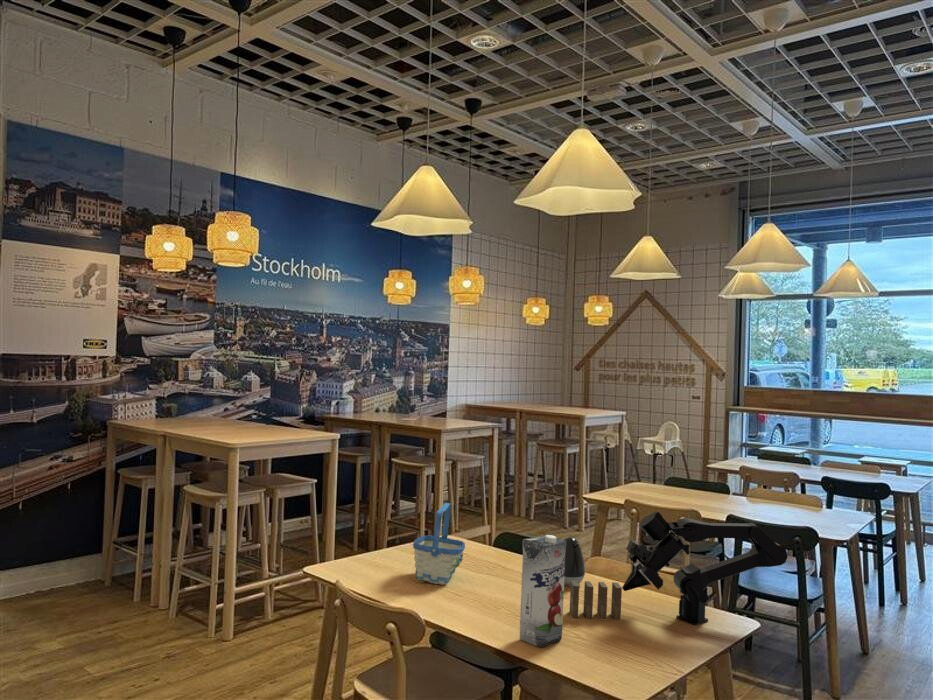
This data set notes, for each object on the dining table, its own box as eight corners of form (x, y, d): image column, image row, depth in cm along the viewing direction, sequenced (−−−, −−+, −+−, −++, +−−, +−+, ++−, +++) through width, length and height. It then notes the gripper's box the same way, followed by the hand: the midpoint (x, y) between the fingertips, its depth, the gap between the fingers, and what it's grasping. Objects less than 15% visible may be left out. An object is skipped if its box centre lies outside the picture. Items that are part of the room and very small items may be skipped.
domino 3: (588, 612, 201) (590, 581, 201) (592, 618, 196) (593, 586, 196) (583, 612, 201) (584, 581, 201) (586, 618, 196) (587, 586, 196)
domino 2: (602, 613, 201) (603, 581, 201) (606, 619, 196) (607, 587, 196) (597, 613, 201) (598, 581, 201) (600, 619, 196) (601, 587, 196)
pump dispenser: (561, 589, 222) (563, 541, 222) (548, 579, 232) (550, 533, 232) (590, 588, 225) (592, 540, 225) (576, 578, 235) (578, 533, 235)
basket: (457, 590, 217) (461, 514, 218) (406, 585, 219) (410, 510, 220) (467, 571, 237) (470, 502, 238) (421, 567, 240) (424, 499, 241)
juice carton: (514, 639, 178) (518, 533, 179) (540, 630, 185) (544, 528, 186) (540, 650, 172) (545, 540, 173) (566, 640, 179) (570, 535, 180)
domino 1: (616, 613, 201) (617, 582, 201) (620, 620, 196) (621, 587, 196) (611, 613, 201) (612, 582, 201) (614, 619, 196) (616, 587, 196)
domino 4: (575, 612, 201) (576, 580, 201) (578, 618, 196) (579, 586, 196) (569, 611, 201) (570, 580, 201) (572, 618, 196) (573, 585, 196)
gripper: (636, 524, 209) (597, 559, 208) (653, 539, 190) (611, 578, 190) (661, 552, 209) (622, 587, 208) (680, 570, 190) (639, 608, 190)
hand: (623, 589), depth 199 cm, fingers closed
